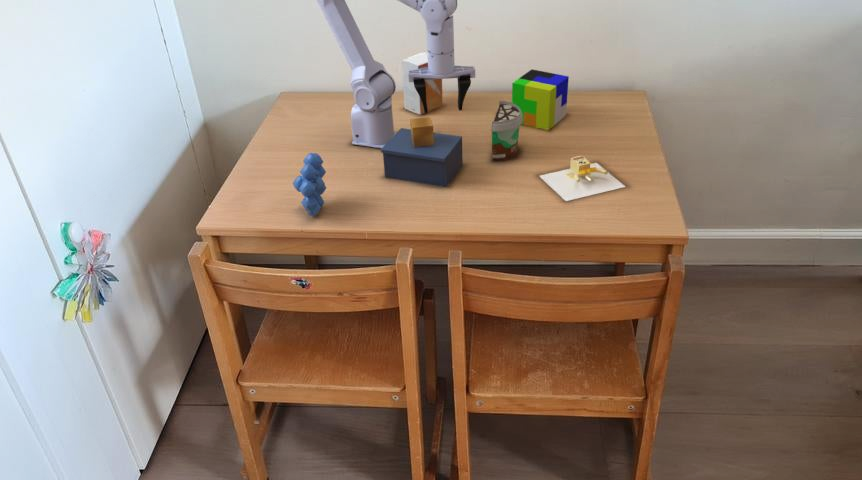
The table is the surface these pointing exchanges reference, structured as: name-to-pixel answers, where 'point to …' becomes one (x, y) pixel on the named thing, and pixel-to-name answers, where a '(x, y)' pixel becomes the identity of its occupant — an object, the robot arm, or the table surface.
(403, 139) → the lid
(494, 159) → the food container
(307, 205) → the grapes
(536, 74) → the puzzle toy
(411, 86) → the small box
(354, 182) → the table surface
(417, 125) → the block
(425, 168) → the toy box
